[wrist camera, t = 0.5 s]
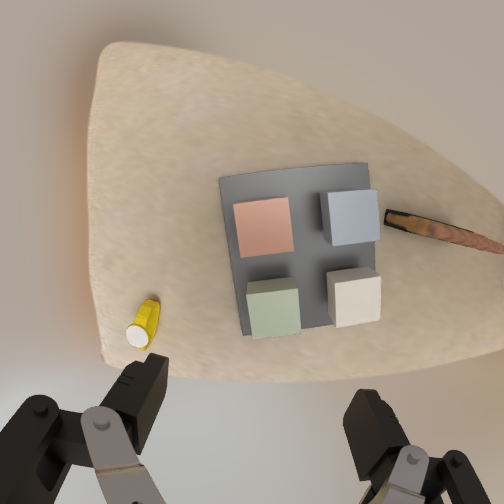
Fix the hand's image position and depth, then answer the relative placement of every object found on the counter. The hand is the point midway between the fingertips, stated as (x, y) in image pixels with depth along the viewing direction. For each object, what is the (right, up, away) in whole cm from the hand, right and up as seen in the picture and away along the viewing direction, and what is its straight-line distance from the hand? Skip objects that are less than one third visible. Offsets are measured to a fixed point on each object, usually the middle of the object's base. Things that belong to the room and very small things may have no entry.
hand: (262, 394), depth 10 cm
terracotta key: (+1, +9, +17) cm, 19 cm away
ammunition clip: (+20, +9, +20) cm, 30 cm away
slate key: (+9, +10, +16) cm, 21 cm away
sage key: (+2, +1, +19) cm, 19 cm away
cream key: (+10, +2, +18) cm, 21 cm away
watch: (-13, -2, +23) cm, 27 cm away
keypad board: (+5, +6, +21) cm, 22 cm away
